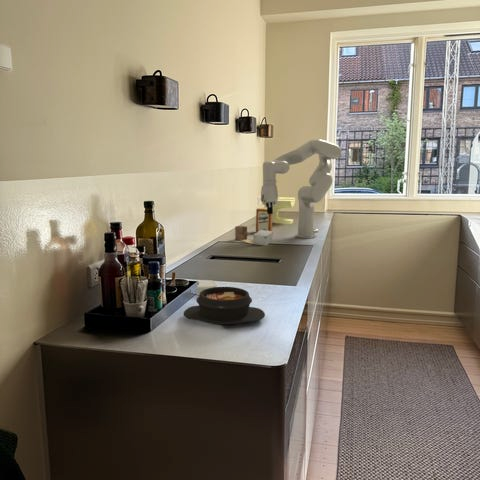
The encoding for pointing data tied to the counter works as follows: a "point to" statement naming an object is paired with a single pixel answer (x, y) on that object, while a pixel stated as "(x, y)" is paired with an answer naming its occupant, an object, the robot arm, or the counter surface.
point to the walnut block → (241, 233)
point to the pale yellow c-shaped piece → (282, 203)
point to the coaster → (205, 285)
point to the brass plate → (247, 241)
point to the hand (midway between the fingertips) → (269, 213)
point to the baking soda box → (263, 220)
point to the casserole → (224, 307)
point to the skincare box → (263, 237)
